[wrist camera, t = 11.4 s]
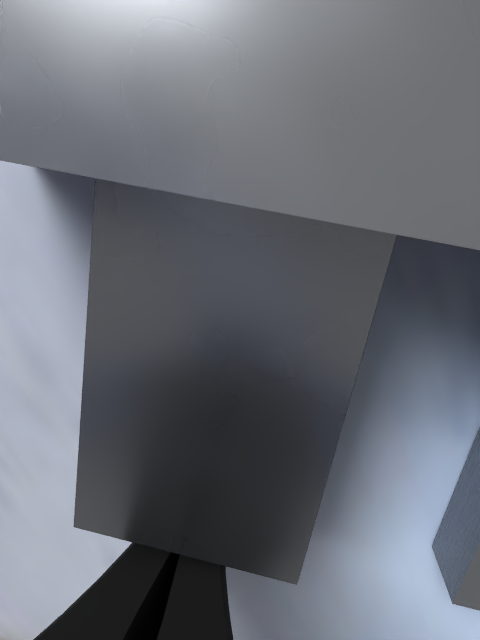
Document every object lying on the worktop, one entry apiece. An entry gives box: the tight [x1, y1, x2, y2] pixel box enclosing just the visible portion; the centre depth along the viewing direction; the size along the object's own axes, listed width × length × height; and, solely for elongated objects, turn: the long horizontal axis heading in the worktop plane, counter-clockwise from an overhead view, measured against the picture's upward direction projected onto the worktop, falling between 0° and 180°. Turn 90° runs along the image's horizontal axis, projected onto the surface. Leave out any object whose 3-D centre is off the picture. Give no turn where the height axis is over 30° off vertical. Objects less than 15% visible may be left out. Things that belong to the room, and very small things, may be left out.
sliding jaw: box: [0, 0, 480, 585], centre depth 7 cm, size 10×9×4 cm
